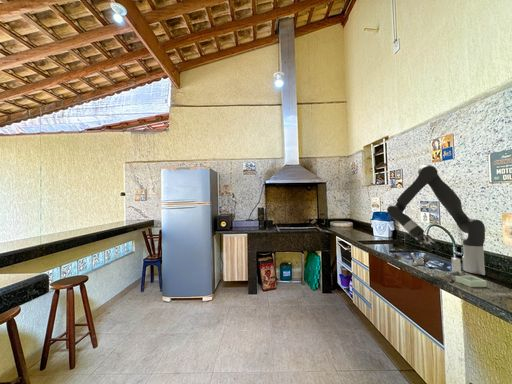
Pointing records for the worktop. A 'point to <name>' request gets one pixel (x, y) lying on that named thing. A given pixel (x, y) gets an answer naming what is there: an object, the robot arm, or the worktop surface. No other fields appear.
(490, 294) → the worktop surface
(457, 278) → the bin
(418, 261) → the lighter
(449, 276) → the socket block
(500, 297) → the worktop surface
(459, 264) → the shiny silver cylinder
